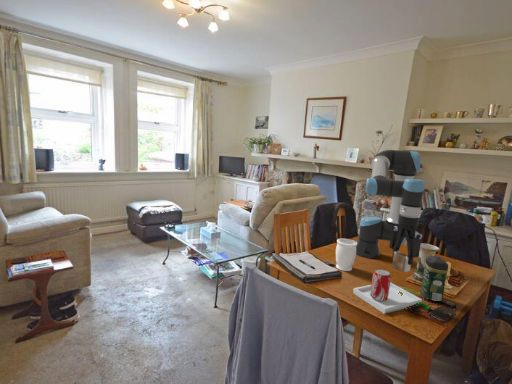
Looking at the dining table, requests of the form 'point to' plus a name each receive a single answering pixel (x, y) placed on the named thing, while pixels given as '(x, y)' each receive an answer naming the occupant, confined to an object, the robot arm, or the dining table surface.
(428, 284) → the coffee jar
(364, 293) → the tray
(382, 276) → the soda can
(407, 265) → the robot arm
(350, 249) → the jar
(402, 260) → the walnut block
